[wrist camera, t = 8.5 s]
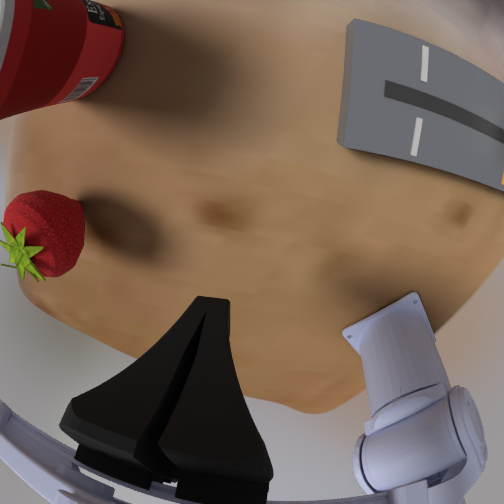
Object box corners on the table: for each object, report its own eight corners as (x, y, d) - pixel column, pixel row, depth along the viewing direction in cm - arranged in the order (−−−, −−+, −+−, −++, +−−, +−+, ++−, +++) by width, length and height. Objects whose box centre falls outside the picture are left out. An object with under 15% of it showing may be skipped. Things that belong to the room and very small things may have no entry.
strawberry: (57, 156, 17) (-33, 206, 9) (121, 196, 19) (37, 272, 11) (47, 210, 20) (-24, 269, 12) (104, 249, 22) (40, 328, 14)
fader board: (535, 115, 10) (550, 120, 9) (520, 195, 15) (534, 205, 13) (346, 26, 11) (354, 17, 10) (336, 141, 16) (343, 147, 14)
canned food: (146, 11, 11) (29, -28, 2) (104, 111, 16) (-21, 152, 6) (73, 4, 10) (-33, -5, 1) (42, 91, 14) (-64, 123, 5)
